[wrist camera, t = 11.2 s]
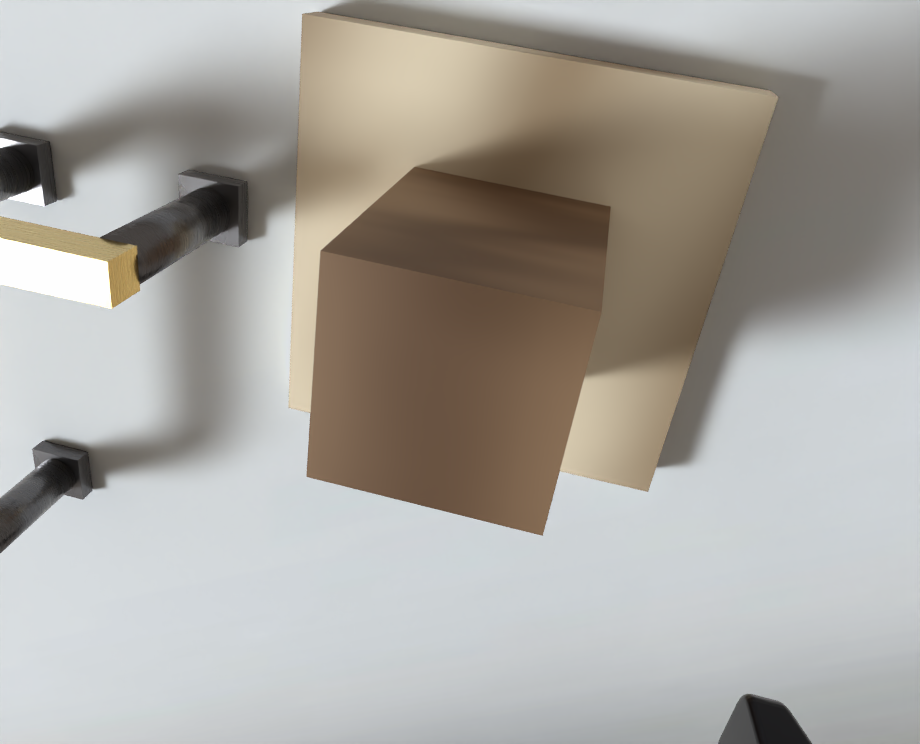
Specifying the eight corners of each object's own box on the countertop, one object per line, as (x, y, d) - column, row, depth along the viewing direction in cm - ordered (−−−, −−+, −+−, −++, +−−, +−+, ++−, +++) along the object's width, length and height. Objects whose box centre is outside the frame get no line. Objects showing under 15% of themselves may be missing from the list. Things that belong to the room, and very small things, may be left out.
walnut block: (610, 206, 17) (601, 312, 12) (566, 380, 19) (542, 535, 14) (414, 166, 17) (320, 250, 12) (393, 341, 19) (306, 476, 14)
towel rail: (247, 181, 19) (120, 250, 14) (246, 529, 25) (155, 661, 20) (-7, 130, 20) (-206, 180, 15) (48, 479, 26) (-85, 595, 21)
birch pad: (770, 90, 16) (778, 97, 15) (647, 470, 21) (647, 491, 20) (318, 11, 17) (302, 13, 16) (302, 390, 22) (288, 407, 21)
